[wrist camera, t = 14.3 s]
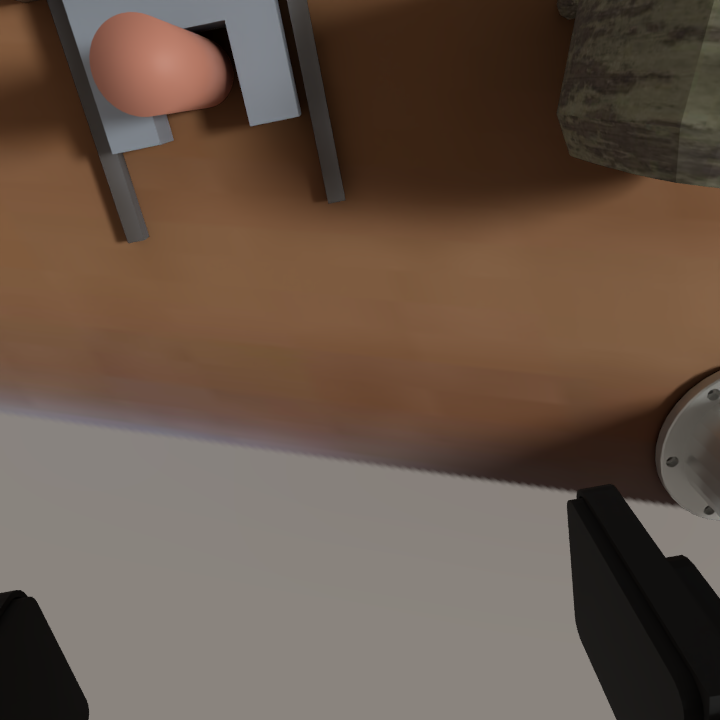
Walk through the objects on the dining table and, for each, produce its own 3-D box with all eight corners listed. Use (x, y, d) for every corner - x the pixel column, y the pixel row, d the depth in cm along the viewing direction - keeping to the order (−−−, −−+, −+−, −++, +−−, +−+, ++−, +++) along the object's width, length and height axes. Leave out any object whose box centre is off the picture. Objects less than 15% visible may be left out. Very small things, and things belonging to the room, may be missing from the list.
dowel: (223, 30, 34) (169, 2, 23) (241, 100, 36) (198, 106, 25) (158, 44, 35) (75, 23, 24) (178, 114, 36) (108, 125, 25)
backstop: (318, -96, 32) (316, -126, 28) (369, 192, 38) (374, 207, 33) (13, -30, 33) (-38, -49, 28) (109, 244, 39) (78, 265, 34)
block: (267, -50, 33) (261, -63, 30) (301, 114, 36) (299, 116, 33) (79, -10, 33) (56, -19, 31) (129, 149, 36) (112, 154, 34)
